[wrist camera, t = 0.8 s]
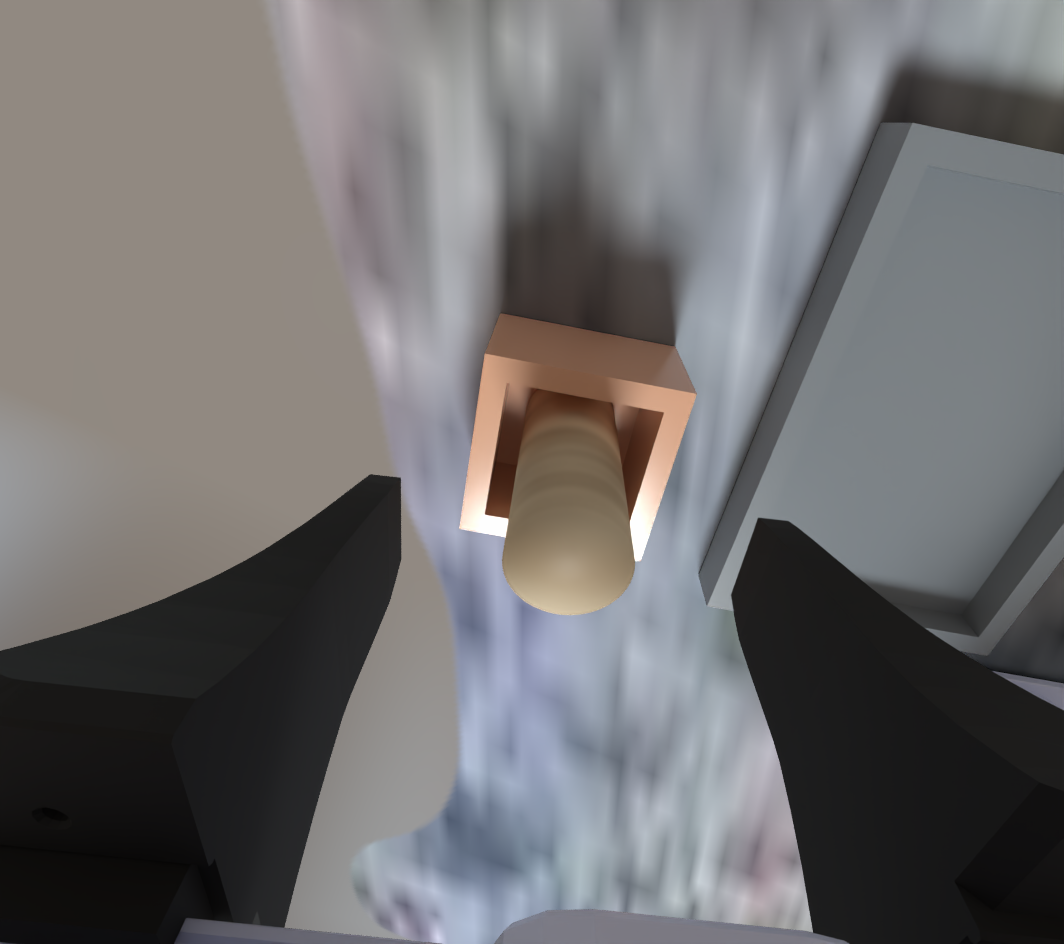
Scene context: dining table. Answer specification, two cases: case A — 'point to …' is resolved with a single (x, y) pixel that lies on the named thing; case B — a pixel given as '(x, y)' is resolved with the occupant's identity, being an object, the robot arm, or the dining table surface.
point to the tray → (925, 390)
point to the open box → (587, 371)
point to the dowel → (568, 508)
